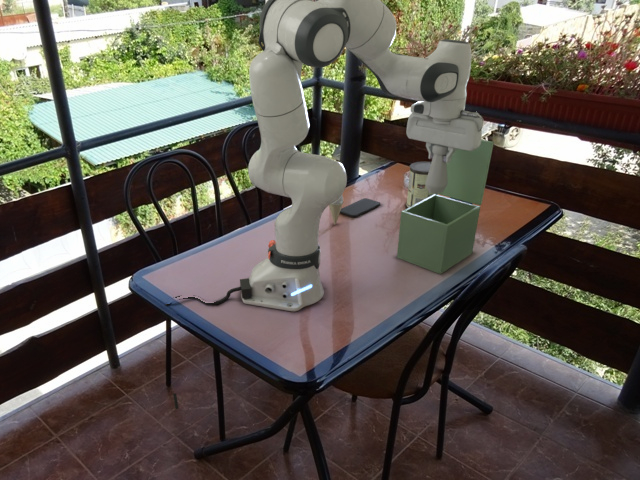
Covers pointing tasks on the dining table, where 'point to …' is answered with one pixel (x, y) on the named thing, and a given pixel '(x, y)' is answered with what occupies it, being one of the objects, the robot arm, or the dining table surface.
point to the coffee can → (418, 183)
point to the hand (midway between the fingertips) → (439, 160)
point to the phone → (359, 207)
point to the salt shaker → (437, 170)
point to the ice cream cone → (336, 208)
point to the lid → (468, 173)
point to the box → (437, 232)
